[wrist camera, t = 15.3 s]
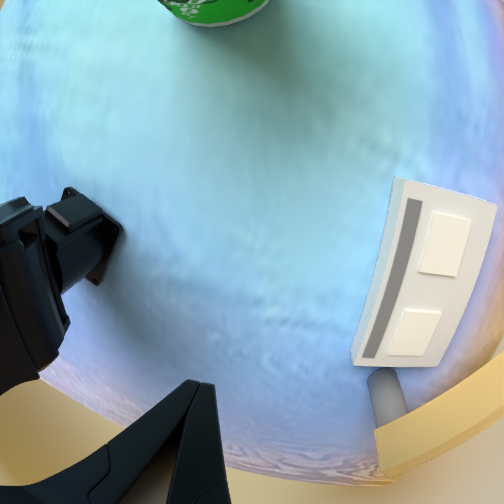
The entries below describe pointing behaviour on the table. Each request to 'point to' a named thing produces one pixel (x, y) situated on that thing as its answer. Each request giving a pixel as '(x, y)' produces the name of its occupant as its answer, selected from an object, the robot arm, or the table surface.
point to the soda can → (213, 10)
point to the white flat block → (422, 275)
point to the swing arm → (432, 416)
